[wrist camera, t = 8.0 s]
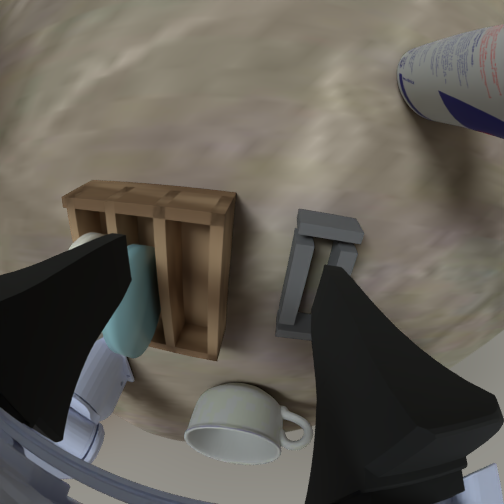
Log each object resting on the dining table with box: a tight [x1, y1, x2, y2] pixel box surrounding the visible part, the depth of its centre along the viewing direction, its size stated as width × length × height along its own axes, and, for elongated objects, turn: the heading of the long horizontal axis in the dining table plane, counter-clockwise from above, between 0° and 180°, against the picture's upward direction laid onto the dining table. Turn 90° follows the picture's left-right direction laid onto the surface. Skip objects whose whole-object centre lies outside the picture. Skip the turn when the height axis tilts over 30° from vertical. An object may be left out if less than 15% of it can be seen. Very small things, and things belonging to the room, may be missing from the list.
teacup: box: [184, 383, 313, 465], centre depth 28 cm, size 14×11×8 cm
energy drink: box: [397, 24, 504, 139], centre depth 8 cm, size 5×5×12 cm
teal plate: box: [102, 244, 161, 358], centre depth 18 cm, size 8×1×8 cm, turn 174°
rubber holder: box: [275, 209, 364, 341], centre depth 20 cm, size 10×4×2 cm, turn 174°
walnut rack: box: [62, 180, 236, 361], centre depth 21 cm, size 13×12×4 cm
